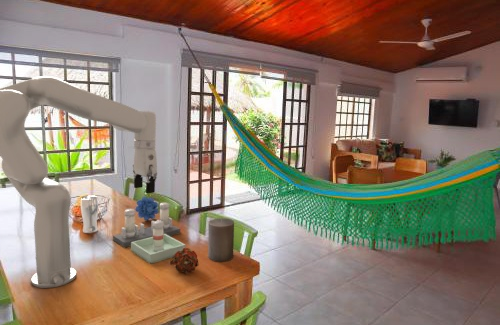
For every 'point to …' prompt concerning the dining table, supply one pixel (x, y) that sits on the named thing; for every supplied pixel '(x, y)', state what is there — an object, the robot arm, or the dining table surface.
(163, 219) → the ball
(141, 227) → the fuse holder
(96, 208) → the beer glass
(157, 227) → the cylinder
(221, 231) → the pillar candle
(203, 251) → the dining table surface
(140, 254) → the tray
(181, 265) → the dark red rosette
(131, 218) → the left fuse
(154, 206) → the grapes
